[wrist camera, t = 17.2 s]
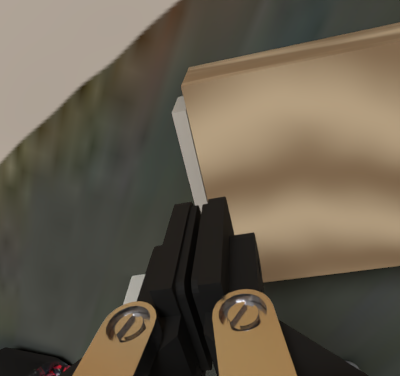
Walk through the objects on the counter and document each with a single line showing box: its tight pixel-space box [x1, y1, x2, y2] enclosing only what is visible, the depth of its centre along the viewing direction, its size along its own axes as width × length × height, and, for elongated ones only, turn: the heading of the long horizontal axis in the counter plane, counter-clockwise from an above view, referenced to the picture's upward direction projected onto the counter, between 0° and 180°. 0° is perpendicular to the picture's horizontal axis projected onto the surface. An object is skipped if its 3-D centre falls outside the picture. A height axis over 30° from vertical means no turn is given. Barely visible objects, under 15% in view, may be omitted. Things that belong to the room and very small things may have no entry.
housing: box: [181, 23, 400, 283], centre depth 23 cm, size 14×15×5 cm
